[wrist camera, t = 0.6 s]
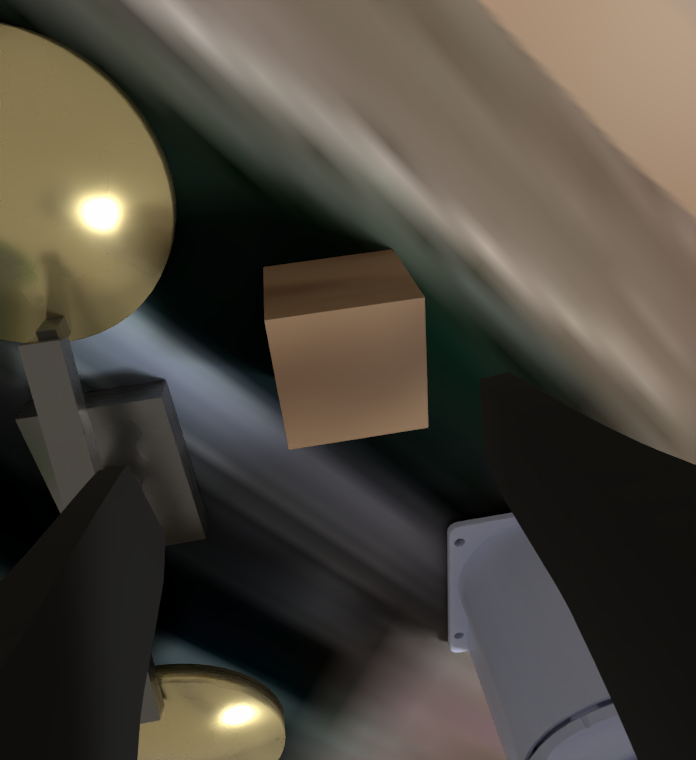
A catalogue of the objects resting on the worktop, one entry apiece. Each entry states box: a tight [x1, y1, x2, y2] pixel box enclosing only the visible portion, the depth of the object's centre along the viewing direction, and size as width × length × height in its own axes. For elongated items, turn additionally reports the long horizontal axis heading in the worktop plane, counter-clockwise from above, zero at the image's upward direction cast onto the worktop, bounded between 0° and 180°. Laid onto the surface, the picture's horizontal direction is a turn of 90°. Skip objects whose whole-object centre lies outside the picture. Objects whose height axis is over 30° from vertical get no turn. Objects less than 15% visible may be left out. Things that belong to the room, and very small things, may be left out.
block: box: [263, 249, 428, 450], centre depth 19 cm, size 4×4×4 cm
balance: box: [0, 23, 285, 760], centre depth 20 cm, size 30×9×7 cm, turn 5°
